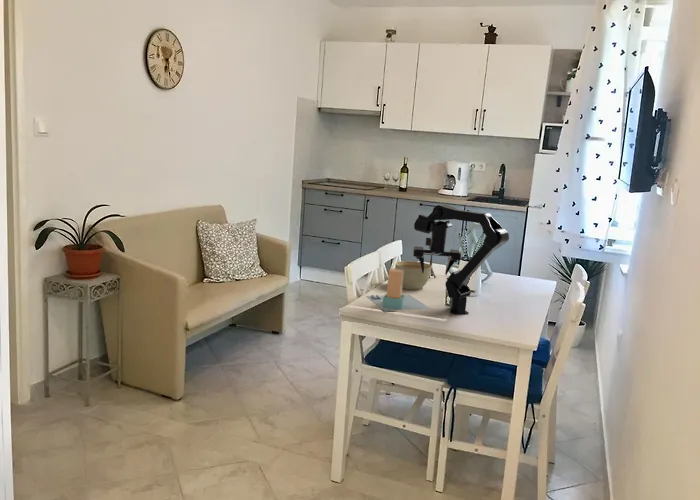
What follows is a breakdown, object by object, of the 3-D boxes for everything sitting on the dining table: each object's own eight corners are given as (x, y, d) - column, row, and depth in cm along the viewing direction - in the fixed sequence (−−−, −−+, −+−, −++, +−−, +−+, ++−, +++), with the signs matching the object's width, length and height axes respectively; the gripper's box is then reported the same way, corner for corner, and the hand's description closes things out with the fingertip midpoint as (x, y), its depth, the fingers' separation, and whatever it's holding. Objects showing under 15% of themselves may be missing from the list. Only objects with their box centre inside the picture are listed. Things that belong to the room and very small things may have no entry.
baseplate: (431, 310, 240) (432, 299, 240) (384, 312, 233) (385, 300, 233) (409, 296, 259) (410, 286, 258) (364, 297, 252) (365, 287, 251)
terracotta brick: (401, 297, 242) (403, 269, 240) (399, 300, 237) (401, 272, 235) (389, 295, 243) (391, 268, 241) (386, 298, 239) (388, 270, 237)
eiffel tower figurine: (425, 273, 307) (427, 247, 305) (444, 277, 302) (447, 250, 300) (412, 278, 294) (415, 251, 292) (432, 282, 289) (434, 254, 287)
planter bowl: (427, 285, 281) (430, 262, 279) (431, 294, 265) (434, 270, 263) (392, 282, 281) (394, 259, 279) (394, 291, 265) (396, 267, 263)
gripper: (460, 233, 251) (455, 269, 255) (414, 229, 251) (410, 265, 256) (463, 240, 240) (458, 278, 244) (415, 236, 241) (411, 274, 245)
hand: (434, 273), depth 248 cm, fingers open, 9 cm apart
